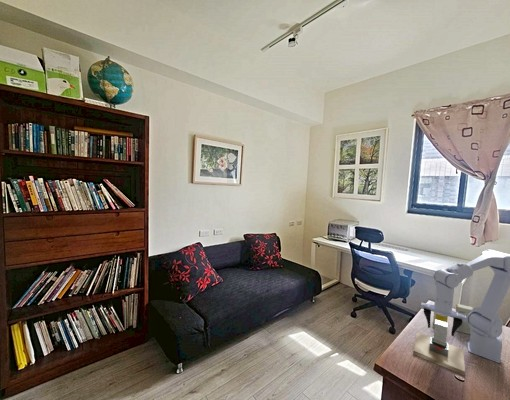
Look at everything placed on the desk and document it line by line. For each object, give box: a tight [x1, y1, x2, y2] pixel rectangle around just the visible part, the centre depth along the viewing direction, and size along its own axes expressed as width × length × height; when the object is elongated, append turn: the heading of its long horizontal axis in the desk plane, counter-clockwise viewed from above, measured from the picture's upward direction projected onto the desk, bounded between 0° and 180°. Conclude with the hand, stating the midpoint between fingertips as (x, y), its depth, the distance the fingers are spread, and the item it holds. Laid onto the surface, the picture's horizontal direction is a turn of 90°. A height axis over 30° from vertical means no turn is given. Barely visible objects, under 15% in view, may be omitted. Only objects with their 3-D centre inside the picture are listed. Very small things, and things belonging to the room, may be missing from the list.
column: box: [432, 319, 448, 346], centre depth 97 cm, size 4×4×8 cm
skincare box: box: [455, 303, 474, 335], centre depth 114 cm, size 6×4×12 cm
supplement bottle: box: [432, 312, 449, 326], centre depth 117 cm, size 5×5×10 cm
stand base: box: [412, 332, 466, 376], centre depth 97 cm, size 16×16×2 cm
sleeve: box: [429, 336, 449, 357], centre depth 97 cm, size 6×7×3 cm
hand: (440, 330), depth 97 cm, fingers open, 7 cm apart
